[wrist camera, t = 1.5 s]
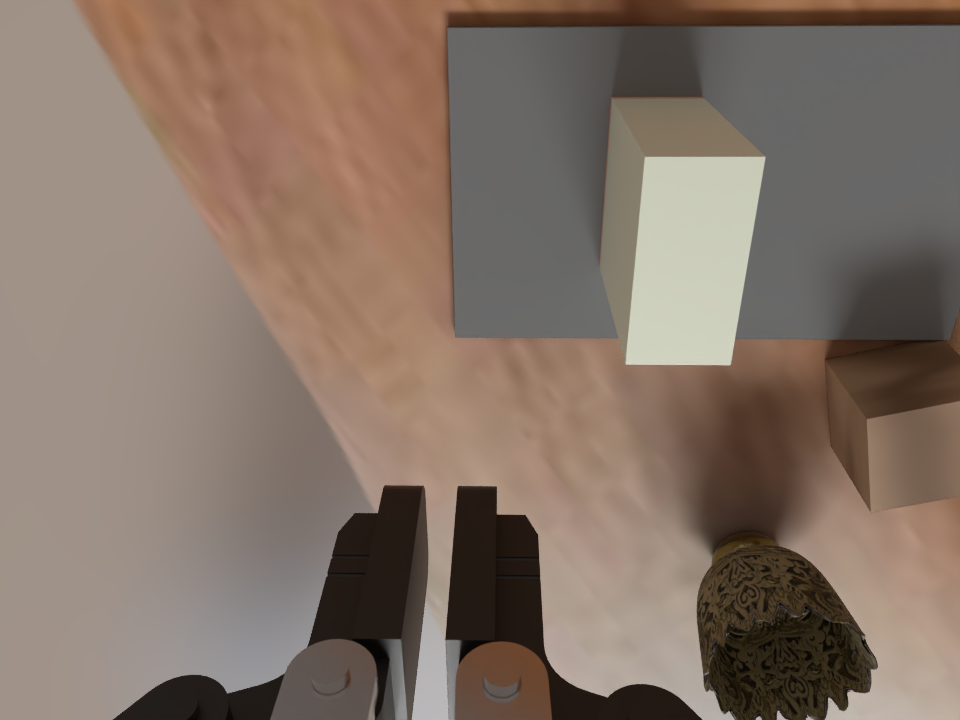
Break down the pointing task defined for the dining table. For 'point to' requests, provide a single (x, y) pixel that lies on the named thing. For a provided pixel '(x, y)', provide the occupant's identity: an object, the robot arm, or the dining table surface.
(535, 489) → the dining table surface
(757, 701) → the filigree lamp shade
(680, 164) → the cream block
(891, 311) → the mat
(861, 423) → the walnut cube
